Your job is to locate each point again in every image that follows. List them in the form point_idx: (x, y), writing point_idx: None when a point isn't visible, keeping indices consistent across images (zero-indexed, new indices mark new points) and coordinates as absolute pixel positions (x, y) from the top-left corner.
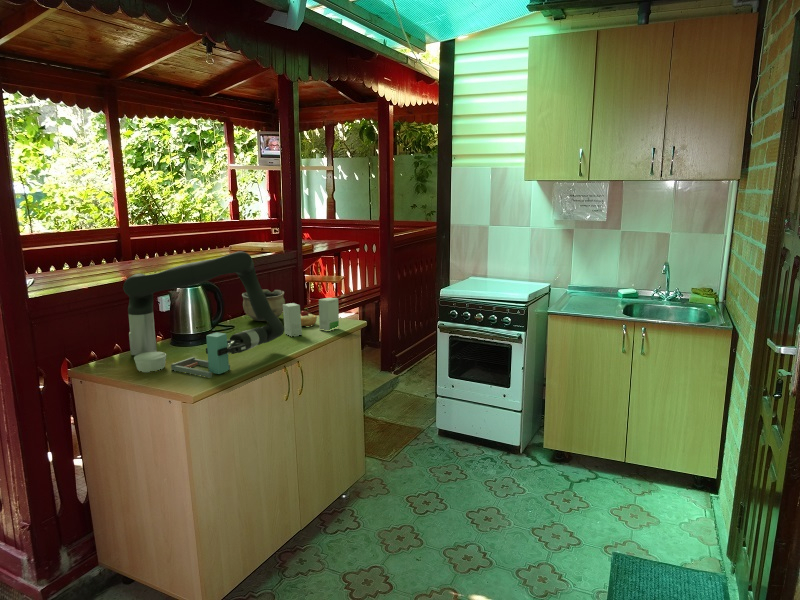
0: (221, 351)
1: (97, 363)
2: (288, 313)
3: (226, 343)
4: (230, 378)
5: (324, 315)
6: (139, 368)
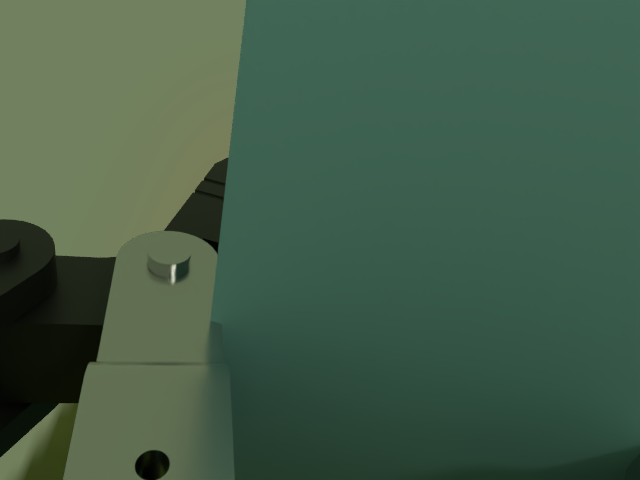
0: (225, 166)
1: None
2: None
3: (234, 216)
4: (66, 415)
5: None
6: None
